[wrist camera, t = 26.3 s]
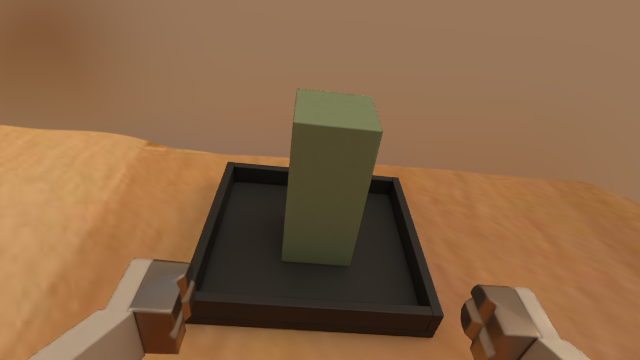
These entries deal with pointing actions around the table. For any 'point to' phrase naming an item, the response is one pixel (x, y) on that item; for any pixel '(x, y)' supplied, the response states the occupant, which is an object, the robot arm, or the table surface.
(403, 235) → the black tray
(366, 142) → the tall green rectangular block
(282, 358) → the table surface
